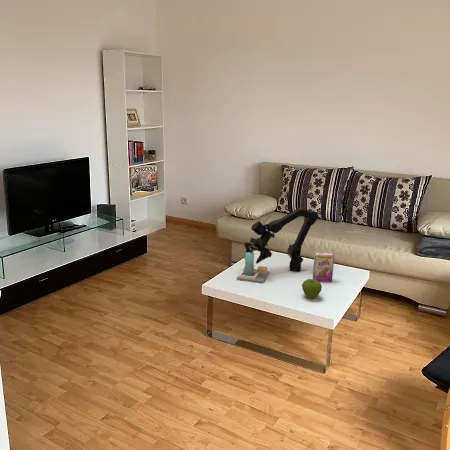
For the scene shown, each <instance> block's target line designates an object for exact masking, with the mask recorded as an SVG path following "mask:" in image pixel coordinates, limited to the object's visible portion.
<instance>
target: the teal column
mask: <svg viewBox="0 0 450 450" xmlns="http://www.w3.org/2000/svg"><path fill="white" fill-rule="evenodd" d="M244 255H245V256H244V258H245V259H244V267H245V276H253V268H254V269H255V265H254V261H255V259H254V258H255V253H254V252H253V251H252V252H247V253H246V252H245V254H244Z"/></svg>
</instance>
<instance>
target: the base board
mask: <svg viewBox="0 0 450 450" xmlns="http://www.w3.org/2000/svg"><path fill="white" fill-rule="evenodd" d="M270 272H271V271H270V270H268V267H267V266H264V265H258V267H257V268H255V267H254V268H253V276H245V266H244V267H243V269H242V270H241V272H240V273H239V274H238V276H237V277H236V281H242V282H243V281H244V282H250V283H257V284H264V283H265V281H266V280H267V278H268V276H269V275H270Z"/></svg>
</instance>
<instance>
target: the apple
mask: <svg viewBox="0 0 450 450" xmlns="http://www.w3.org/2000/svg"><path fill="white" fill-rule="evenodd" d="M301 288H302V291H303V293H304V295H305V297H307V298H309V299H315V298H317V297H318V296H319V295H320V293H321V292H322V290H323V289H322V288H323V285H322V283H321V281H317V280H314V279H313V278H308V279H306V280H304V281H303V282H302V284H301Z"/></svg>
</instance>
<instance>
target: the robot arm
mask: <svg viewBox="0 0 450 450" xmlns="http://www.w3.org/2000/svg"><path fill="white" fill-rule="evenodd" d="M300 217H303V222H302V223H303V224H302V226H301V227H300V230H299V232H298V234H297V236H296V237H295V238H296V239H295V241H294V243H293V244H288V245H289V246H288V248H287V249H286V250H287V251H286V253H287V256H288V257H289V259H290V261H289V266H288V267H289V271H292V272H298V273H299V272H301V270H302V263H303V261H304V258H303V257H302V256H301V253H302V246H303V244H304V242H305V240H306V237H307V235H308V233H309V231H310V229H311V227H312V226H313V225H314V224H315V223H316V222H317V220H318V218H319V213H318V212H317V211H315V210H313V209H311V208H310V209H304V208H301V207H297V208H296V209H294V210H293V211H292V212H289V213H288V214H286V215H285V216H283V217H281V218H278V219H274V220H272V221H270V222H269V223H266V224H262V222H261V221H260V220H258V221H257V222H254V223H253V224H252V226H251V228H250V229H251V230H252V232H253V233H255V234H256V235H257V236H259V237H257V238H254V237H250V239H249V242H248V241H246V242H244V244H243V246H244V248H245V253H247V252H252V253H253V251H256V252H257V251H258V252H259V256H258V257H257V259H256V261H255V264H259V263H261V262H262V261H264V260H266V259H269V258H271V257H272V256H273V253H272V251H271V250H270V249H269V248H266V247H268V246H269V244H268V243H269V241H270V240H271V238H272V239H275V238H276V237H275V236H276V235H275V234H277V233H279V232H280V231H281V230H282V229H283V228H284V227H285V226H286V225H288V224H289V223H291V222H293V221H294V220H296V219H298V218H300ZM244 260H245V257H244Z"/></svg>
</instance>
